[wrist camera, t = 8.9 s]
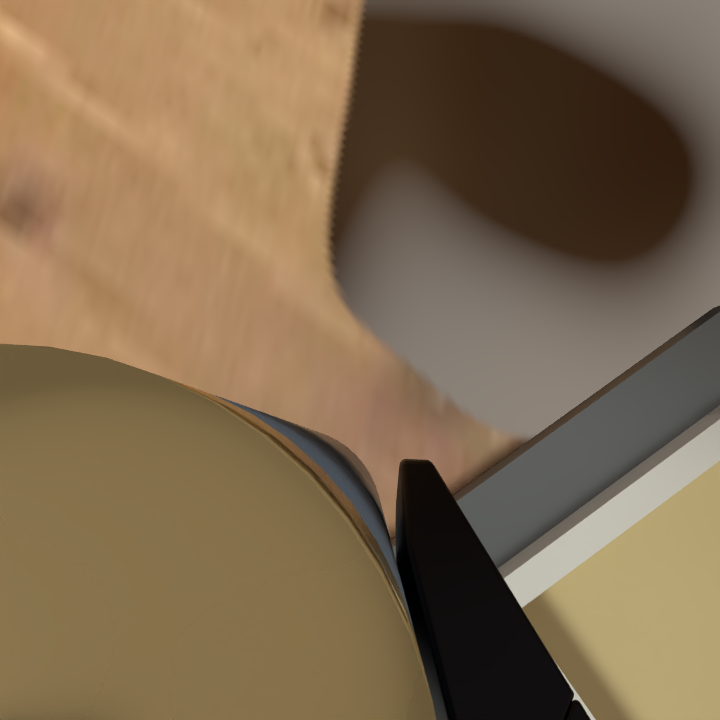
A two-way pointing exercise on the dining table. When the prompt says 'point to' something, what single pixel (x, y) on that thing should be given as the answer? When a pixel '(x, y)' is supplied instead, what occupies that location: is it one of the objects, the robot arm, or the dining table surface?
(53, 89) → the dining table surface
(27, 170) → the dining table surface
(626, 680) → the tester board
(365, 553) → the cell
